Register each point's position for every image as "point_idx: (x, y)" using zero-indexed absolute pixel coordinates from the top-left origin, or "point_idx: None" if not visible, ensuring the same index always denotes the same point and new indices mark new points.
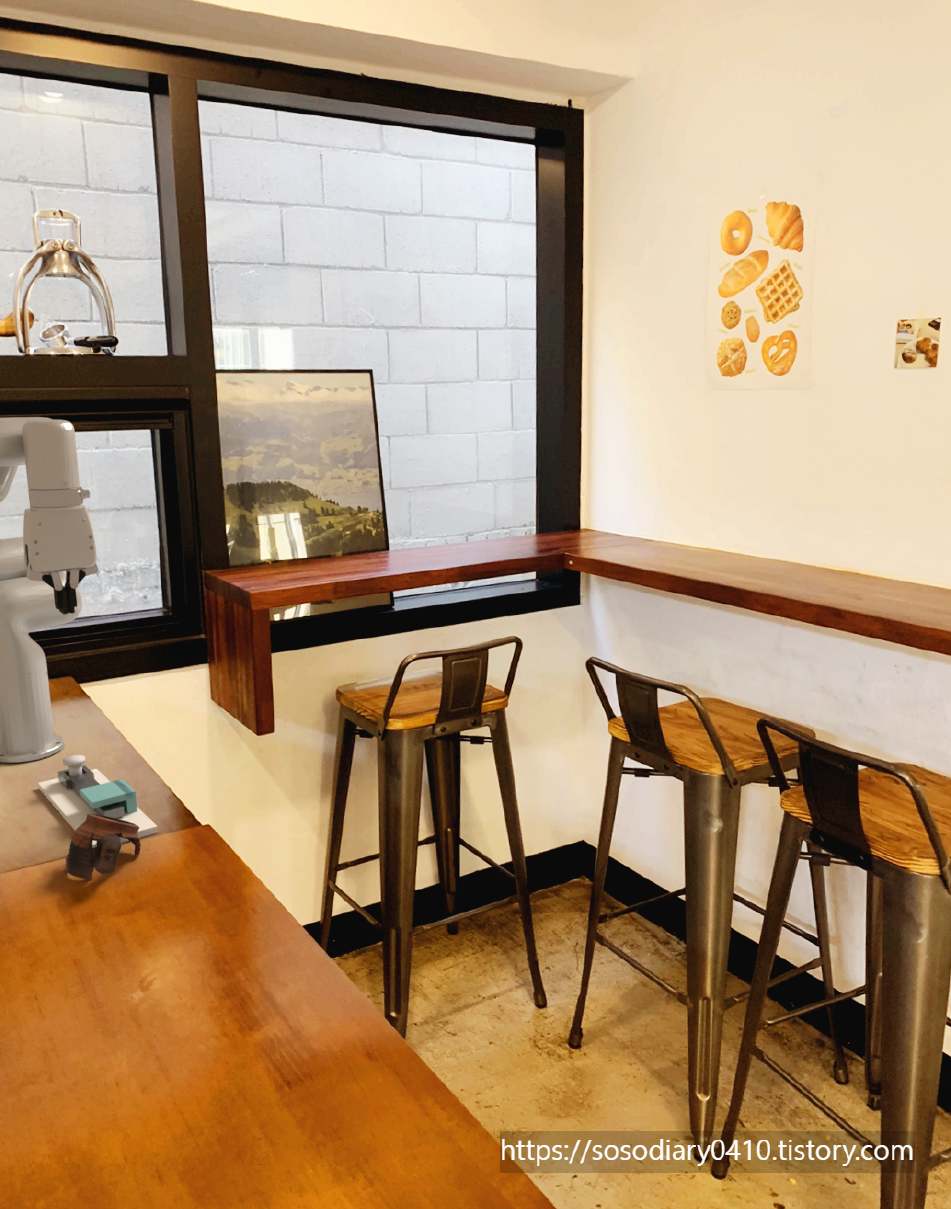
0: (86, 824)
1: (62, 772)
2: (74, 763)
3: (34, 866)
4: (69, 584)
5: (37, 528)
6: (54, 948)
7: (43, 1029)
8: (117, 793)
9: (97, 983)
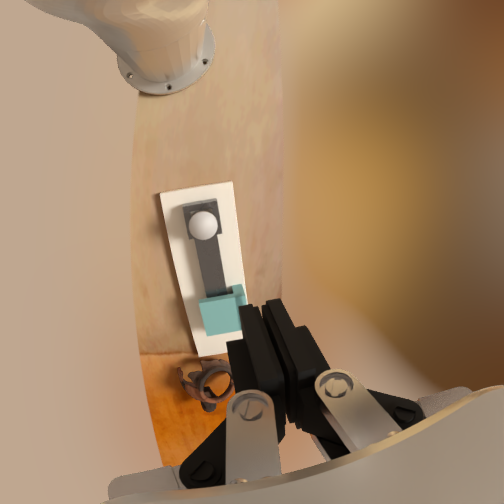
0: (197, 393)
1: (187, 211)
2: (201, 239)
3: (156, 355)
4: (313, 431)
5: None
6: (172, 424)
7: (170, 452)
8: (232, 327)
9: (191, 443)
